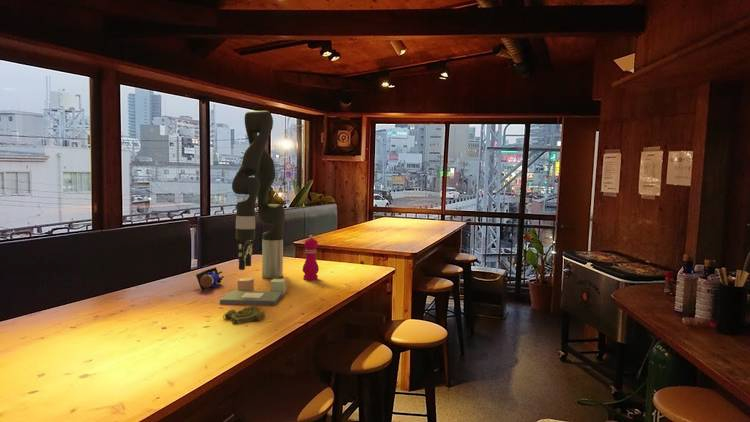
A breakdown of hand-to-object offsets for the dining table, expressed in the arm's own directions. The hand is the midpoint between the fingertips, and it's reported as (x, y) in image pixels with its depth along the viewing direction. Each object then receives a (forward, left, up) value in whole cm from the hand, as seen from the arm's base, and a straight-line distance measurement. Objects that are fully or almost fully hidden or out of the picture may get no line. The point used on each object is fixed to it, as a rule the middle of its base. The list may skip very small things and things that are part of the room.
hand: (245, 267), depth 196 cm
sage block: (0, +13, -10) cm, 16 cm away
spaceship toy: (+33, +10, -10) cm, 36 cm away
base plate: (+12, +6, -10) cm, 16 cm away
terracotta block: (0, 0, -10) cm, 10 cm away
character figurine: (-6, -16, -10) cm, 20 cm away
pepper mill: (-26, +22, -10) cm, 36 cm away
